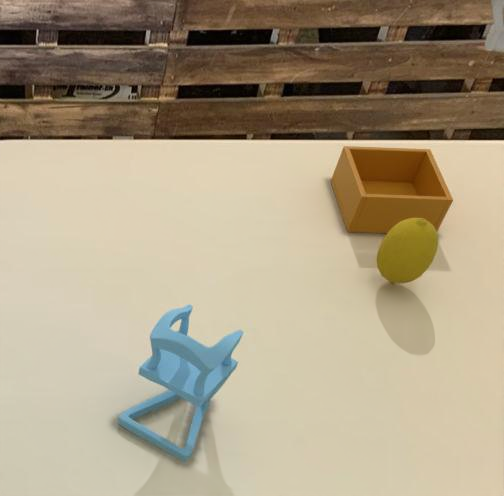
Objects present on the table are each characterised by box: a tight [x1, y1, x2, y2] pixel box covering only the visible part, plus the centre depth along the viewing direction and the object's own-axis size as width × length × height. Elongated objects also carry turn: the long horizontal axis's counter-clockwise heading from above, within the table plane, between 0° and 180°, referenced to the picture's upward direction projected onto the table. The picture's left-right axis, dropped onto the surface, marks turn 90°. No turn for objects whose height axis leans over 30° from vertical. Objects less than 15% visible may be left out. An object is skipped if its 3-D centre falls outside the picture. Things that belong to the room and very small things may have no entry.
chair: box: [117, 304, 244, 462], centre depth 82 cm, size 8×8×12 cm
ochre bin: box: [330, 145, 454, 234], centre depth 105 cm, size 10×10×5 cm
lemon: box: [376, 218, 439, 284], centre depth 96 cm, size 6×6×8 cm
